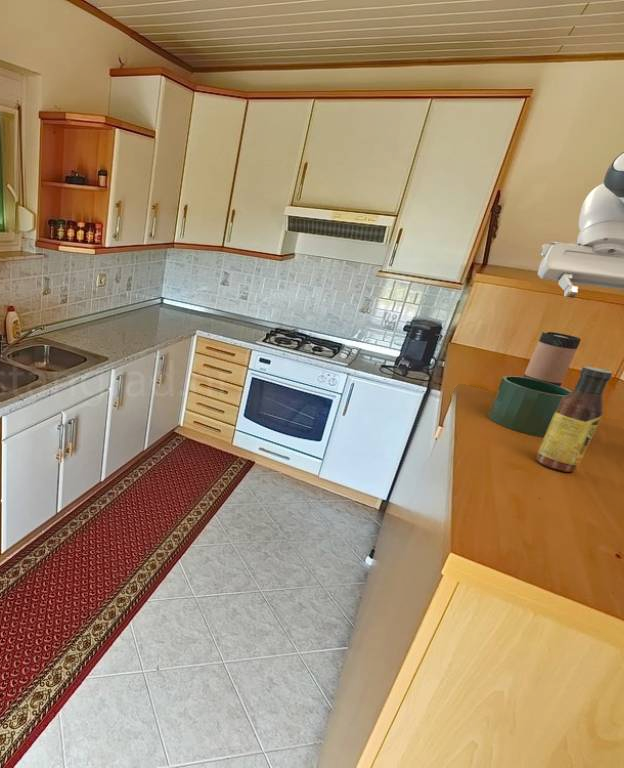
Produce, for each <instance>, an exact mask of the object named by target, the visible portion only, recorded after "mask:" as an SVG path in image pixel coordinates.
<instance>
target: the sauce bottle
mask: <svg viewBox="0 0 624 768" xmlns="http://www.w3.org/2000/svg"><path fill="white" fill-rule="evenodd" d="M612 375H613V372H612V371H610V370H606V369H604V368H600V367H593V366H582V368H581V371H580V376H579V378H578V380H577V383H576V385H574V390H571V391H572V392H571V393H569V394H567V395H566V396H565V397H563V398H562V400H561V401H560V404H559V406H558V408H557V411H555V413H554V416H553V418H552V420H551V423H550V425H549V427H548V429H547V432H546V434H545V436H544V437H543V439H542V441H541V443H540V445H539V448H538V450H537V453H538V454H537V455H536V461H537V462H538V463H539V464H540V465H543V466H544V467H547V468H549V469H552V470H556V471H559V472H563V473H573V472H575V471H576V470H577V467H578V466H579V465H580V463H581V462H582V460H583V457H584V455H585V453H586V451H587V448H588V447H589V444H590V443H591V440H592V438H593V437H594V434H595V432H596V429H597V427H598V425H599V423H600V421H601V419H602V417H603V393H604V390H605V388H606V386H607V383H608V381H611V378H612Z"/></svg>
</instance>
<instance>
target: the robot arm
mask: <svg viewBox="0 0 624 768" xmlns="http://www.w3.org/2000/svg"><path fill="white" fill-rule="evenodd" d="M579 212H580V213H579V218H578V229H579V232H578V233H577V234H578V235H577V237H576V243H575V242H562V241H556V240H554V241H551V242H547V243H545V244H543V245H542V246H541V250H540V254H541V256H542V257H543V258H542V260H541V262H540V264H539V267H538V270H537V276H538V277H539V278H540V279H542V280H546V281H554V282H558V283H557V284H558V286H559V287H560V288H561V289H562V291H563V292H564V294H563V297H564V298H570V299H574V298H575V297H576V296H577V295H578V292H579V286H576V285H584V286H591V287H599V288H606V289H613V290H621V291H624V151H623V152H621V153H619V155H617V156H616V157H615V158H614V160H613V161H612V162H611V163H610V165H609V166H608V168H607V170H606V172H605V175H604V178H603V182H602V183H601V184H599V185H597V186H596V187H595V188H593V189H592V190H591V191H590V192H589V193H588V194H587V196H586V197H585V199H584V201H583V203H582V206H581V208H580V211H579ZM574 284H576V285H574Z"/></svg>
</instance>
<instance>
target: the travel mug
mask: <svg viewBox="0 0 624 768" xmlns="http://www.w3.org/2000/svg"><path fill="white" fill-rule="evenodd" d="M581 341H582V339H581V338H580V337H577V336H573V335H569V334H565V333H561V332H560V333H559V332H554V331H547V332H543V331H542V332H541V335H540V337H539V340H538V342H537V343H536V346H535V349H534V351H533V353H532V355H531V357H530V360H529V362H528V365H527V367H526V369H525V372H524V374H523V376H522V377H525V378H530V379H535V380H539V381H543V382H547V383H551V384H554V385H557V386H560V387H562V383H563V382H564V380H565V377H566V376H567V373H568V370H569V368H570V366H571V363H572V361H573V359H574V356H575V354H576V352H577V350H578V348H579V345H580V343H581Z"/></svg>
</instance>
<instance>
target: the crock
mask: <svg viewBox="0 0 624 768" xmlns="http://www.w3.org/2000/svg"><path fill="white" fill-rule="evenodd" d="M572 391H573V390H570V389H568V388H565V387H564V386H557V385H554V384H551V383H547V382H543V381H539V380H535V379H530V378H525V377H523V376H518V375H505V376H504V375H503V377H502V378H501V381H500V383H499V386H498V388H497V390H496V393H495V396H494V398H493V400H492V403H491V405H490V408H489V410H488V414H487V418H488V419H489V420H490V421H492V422H494V423H496V424H497V425H499V426H502V427H504V428H507V429H509V430H512V431H515V432H518V431H519V433H522V434H526V435H530V436H535V437H540V438H544V436H545V434H546V432H547V429H548V427H549V425H550V423H551V420H552V418H553V416H554V413H555V411H557V408H558V406H559V404H560V401H561V400H562V398H563V397H565V396H566V395H567V394H569V393H571V392H572Z"/></svg>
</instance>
